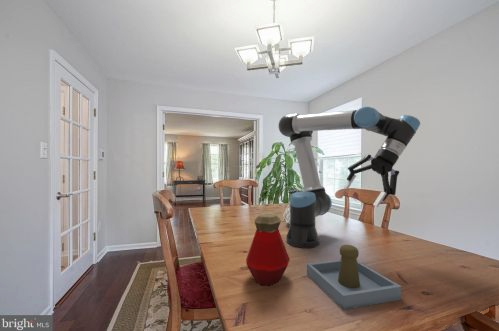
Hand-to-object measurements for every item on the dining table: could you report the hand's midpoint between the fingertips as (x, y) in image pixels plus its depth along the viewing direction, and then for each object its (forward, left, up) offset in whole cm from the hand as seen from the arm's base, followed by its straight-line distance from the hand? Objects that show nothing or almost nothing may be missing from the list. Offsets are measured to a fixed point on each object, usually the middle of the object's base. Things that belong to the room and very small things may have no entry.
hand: (360, 197), depth 87 cm
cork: (-2, -28, -23) cm, 36 cm away
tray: (-2, -28, -23) cm, 36 cm away
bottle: (-25, -36, -24) cm, 50 cm away
